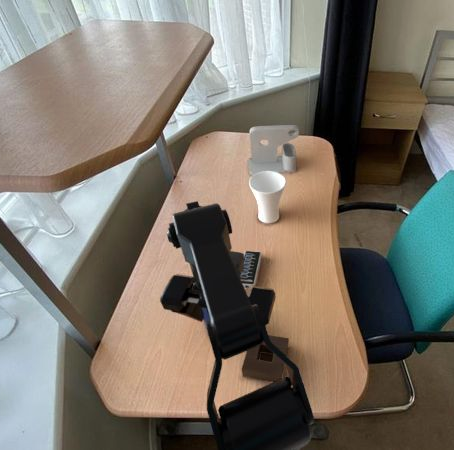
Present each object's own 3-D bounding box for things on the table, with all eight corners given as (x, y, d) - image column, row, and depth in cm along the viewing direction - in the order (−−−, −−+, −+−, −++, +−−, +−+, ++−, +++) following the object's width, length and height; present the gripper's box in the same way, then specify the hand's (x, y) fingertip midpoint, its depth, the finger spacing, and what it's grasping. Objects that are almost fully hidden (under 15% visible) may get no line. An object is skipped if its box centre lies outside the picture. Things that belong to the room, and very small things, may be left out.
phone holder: (293, 156, 125) (295, 112, 113) (297, 172, 118) (299, 126, 106) (248, 159, 123) (244, 114, 110) (249, 175, 116) (245, 129, 103)
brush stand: (281, 383, 66) (281, 376, 63) (243, 376, 67) (241, 369, 64) (288, 346, 72) (288, 338, 69) (253, 340, 72) (252, 331, 70)
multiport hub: (261, 257, 90) (261, 251, 88) (254, 290, 82) (254, 285, 80) (245, 255, 90) (245, 250, 88) (237, 289, 82) (236, 283, 80)
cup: (251, 205, 104) (248, 171, 95) (284, 204, 105) (284, 170, 96) (252, 229, 97) (248, 194, 87) (287, 227, 98) (287, 192, 89)
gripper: (281, 243, 56) (282, 295, 67) (178, 229, 57) (195, 281, 68) (265, 298, 48) (269, 347, 59) (146, 279, 49) (171, 330, 60)
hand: (225, 323), depth 62 cm, fingers open, 9 cm apart
